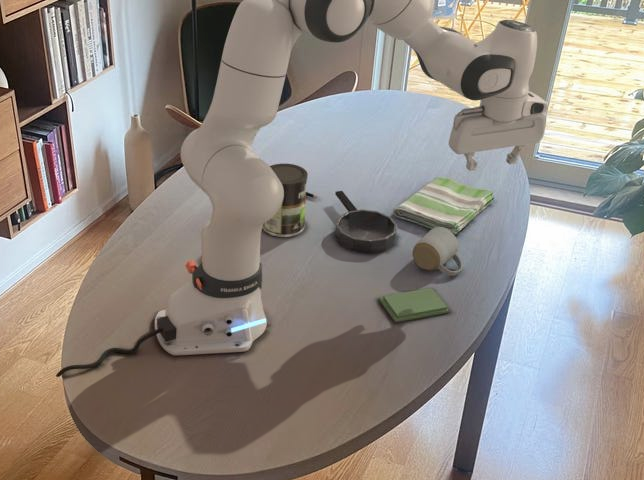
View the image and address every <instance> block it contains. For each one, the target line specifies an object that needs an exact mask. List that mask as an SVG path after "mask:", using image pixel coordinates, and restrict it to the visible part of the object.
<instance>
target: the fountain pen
mask: <svg viewBox="0 0 644 480" xmlns="http://www.w3.org/2000/svg"><path fill="white" fill-rule="evenodd" d="M306 197H308V198H309V197H310V198H319V197H318V196H317V195H315V194H314V193H310V192H308V191H306Z"/></svg>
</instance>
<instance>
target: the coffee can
mask: <svg viewBox="0 0 644 480" xmlns="http://www.w3.org/2000/svg"><path fill="white" fill-rule="evenodd" d="M269 166H270V167H271V168H272V170H273V171H274V173H275V174H276V176H277V177H278V179H279V180H280V182H281V183H282V186H283V189H284V198H283V202H282V205H281V207H280V209H279V210H278V212H277V213H276V214H275V215H274V216H273V217H272V218H271V219H270V220H268V221H267V222H265V223H264V224H263V227H262V230H263V231H264V232H265V233H267V234H268V235H270V236H273V237H279V238H291V237H295V236H298V235H300V234H301V233H302V232H303V231H304V230H305V228H306V227H305V223H306V222H305V221H306V219H305V218H306V201H307V196H306V192H307V182H308V175H309V174H308V171H307V170H306V169H305V168H304V167H302V166H300V165H298V164H294V163H275V164H271V165H269Z"/></svg>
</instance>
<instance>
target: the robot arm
mask: <svg viewBox="0 0 644 480" xmlns="http://www.w3.org/2000/svg"><path fill="white" fill-rule="evenodd" d="M435 3H436V0H242V1H241V2H240V3H239V5H238V7H237V8H236V10H235V13H234V15H233V18H232V21H231V23H230V26H229V29H228V32H227V36H226V38H225V42H224V45H223V50H222V55H221V59H220V63H219V65H220V66H219V68H218V74H217V79H216V83H215V88H214V91H213V97H212V99H211V102H210V103H211V104H210V106H209V108H208V111H207V113H206V115H205V117H204V119H203V121H202V123H201V124H200V126H199V127H197V128H196V129H193V130H192V131H191V132H190V133H189V134H188V135H187V136H186V137H185V139H184V141H183V143H182V145H181V148H180V161H181V163H182V166H183V168H184V169H185V171H186V173H187V175H188V177H189V179H190V180H191V181H192V182H193V183H194V184H195V185H196V186H197V187H198V188H199V189H200V190H202V192H203V193H204V194H205V195H207V197H208V198H209V200H210V203H211V206H212V215H211V218H210V219H209V220H208V221H206V222H205V224H204V225H203V226H202V228H201V231H200V239H201V241H200V242H201V261H200V263H199V265H198V266H197V262H196V261H195V260H192V259H191V260H188V261H186V263H185V269H187V272H188V273H189V274H191V279H190V280H189V281H188V282H186V283H185V284H183V285H182V286H181V287H180V288H179V287H178V289H177V290H175V291H173V292H172V293H171V294H170V295H169V296H168V298H167V301H166V303H165V304H166V305H165V308H164V309H162V310H159V311H158V312H157V314H156V315H155V318H154V330H153V331H151V332H149V333H147V334H145V335H143V336H142V337H141V338H139V339H138V340H137V342H136V343H135V345H134V346H133V348H130V349H126V348H120V347H112V348H109V349H107V350H104V352H102V354H101V355H100V357H99V359H98V360H97V361H95V362H92V363H87V364H73V365H68V366H65V367H63V368H61V369H60V370H59V371H58V372H57V373H56V375H55V378H60V377H62V376H63V375H64V374H65V373H66V372H69V371H72V370H85V369H86V370H87V369H92V368H95V367H97V366H99V365H101V364H102V363H103V361H104V360H105V359H106V357H107V356H108V355H109V354H111V353H120V354H121V353H122V354H124V355H125V354H127V355H130V354H134V353H136V352H137V351H138V350H139V348H140V347H141V345H142V344H143V343H144V342H145V341H146V340H149V339H150V338H153V337H154V336H156V339H157V342H158V343H159V345H160V346H161V348H162V349H163V350H164V351H165V352H167V353H168V354H170V355H172V356H190V355H191V356H192V355H208V354H209V355H211V354H228V353H245V352H247V351H249V350H250V348H252V345H253V342H254V341H255V340H257V339H258V338H260V337H261V336H262V335H263V334H264V332H265V331H266V329H267V325H268V319H267V317H266V314H265V310H264V306H263V302H262V293H261V289H262V287H263V286H262V284H263V265H262V263H261V237H262V230H263V228H262V227H263V224H264V223H265V222H267V221H268V220H270V219H271V218H272V217H273V216H274V215H275V214H276V213H277V212H278V210H279V209H280V207H281V205H282V202H283V198H284V189H283V186H282V183H281V182H280V180H279V179H278V177H277V176H276V174H275V173H274V171H273V170H272V168H271V167H270V166H271V165H269V164H268V163H267V162H265V160H263V159H262V158H261V157H259V156H258V155H257V154H255V152H253V143H254V140H255V138H256V136H257V134H258V132H259V131H260V129H261V128H263V127H265V126H268V125H270V124H271V123H272V122H273V121H274V120H275V118H276V116H277V114H278V110H279V107H280V102H281V97H282V94H283V88H284V84H285V81H286V77H287V72H288V68H289V63H290V57H291V53H292V50H293V48H294V45H295V44H296V42H297V40H298V39H299V38H300V36H301V35H303V34H304V33H307V34H309V35H312V36H313V37H315V38H316V39H317V40H320V41H323V42H327V43H335V44H336V43H343V42H347V41H348V40H350V39H352V38H353V37H354V36H355V35H357V34H358V33H359V31H360V30H361V29H362V28H363V27H364V25H365V24H366V22H369V23H370V24H372V25H373V26H374V27H375V28H376V29H378V30H379V31H381V32H382V33H384V34H386V35H388V36H389V37H391V38H393V39H395V40H398V41H404V42H405V43H406V44H407V45H408V46H409V47H410V48H411V49H412V50H413V52H414V53H415V55H416V57H417V60H418V63H419V66H420V68H421V71H422V72H423V73H424V75H425V76H427V77H428V78H430V79H432V80H434V81H435V82H439V83H440V84H441V85H443V86H445V87H447V88H449V89H450V90H452V91H453V92H455V93H456V94H458V95H460V96H461V97H462V98H463V97H464V98H465V99H468V100H470V101H473V102H474V101H479V106H474V107H470V108H469V107H466V108H462V109H461V110H460V111H459V112H457V114H455V115H454V116H453V117H454V118H453V123H452V127H451V132H450V134H449V139H448V146H449V148H450V150H452V151H453V152H454V153H455V154H456V155H464V157H465V160H466V164H465V169H467V171H475V170H477V166H478V162H477V161H476V160H475V158H473V157H474V156H475V153H479V152H485V151H491V150H492V151H493V150H499V149H505V148H511V147H513V149H512V150H511V151H510V153H507V154H506V158H505V161H506V163H508V165H514V164H515V165H516V164H517V162H518V159H519V156H520V155H521V154H522V153H523V151H524V150H525V149H526V146H527V145H531V144H538V143H540V141H541V140H543V138H544V136H545V132H546V127H547V126H546V125H547V114H546V113H547V111H548V109H549V103H548V102H546V100H544V99H543V98H542V97H540V96H539V95H537V93H534V92H532V91H530V87H529V83H530V82H529V81H530V78H531V76H532V74H533V71H534V67H535V63H536V57H537V51H538V50H537V49H538V34H537V33H538V32H537V30H536V29H535V28H534V27H533V26H531V25H529V24H527V23H525V22H522V21H518V20H513V19H502V20H499V21H498V22H497V24H496V26H495V28H494V29H493V30H492V31H491V33H489V34H488V35H486V37H484V38H483V39H481V40H479V41H478V42H476V41H475V40H473V39H470V38H469V37H467V36H465V35H464V34H462V33H461V32H459V31H458V30H456V29H454V28H450V27H445V26H440V25H439V24H437V22H436V21H435V20H434V19H433V18H432V15H433V13H434V9H435Z"/></svg>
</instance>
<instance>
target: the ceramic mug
mask: <svg viewBox="0 0 644 480" xmlns="http://www.w3.org/2000/svg"><path fill="white" fill-rule="evenodd" d="M458 251H459V242H458V239H457V237H456V236H455V235H454V234H453V233H452V232H451V231H449V230H448V229H446V228H443V227H435V228H433V229H430V230H429V231H428V232H427V233H426V234H425V235H424V236H422V238H420V240H419V241H417V242H416V243H415V245H414V247H413V249H412V258H413V261H414V263H416V265H417V266H418V267H419V268H421V269H422V270H424V271H435V270H439V271H440V273H442V274H444V275H446V276H449V277H454V276H457V275H458V274H460V272H461V271H462V270H463V262H462V260H461V258H460V256H459V255H458V254H457V253H458ZM451 259H452V260H453V261H454V262H455V264H456V266H457V270H450V269H448V268H446V266H444V264H446V263H447V262H449V261H450V260H451Z"/></svg>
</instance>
